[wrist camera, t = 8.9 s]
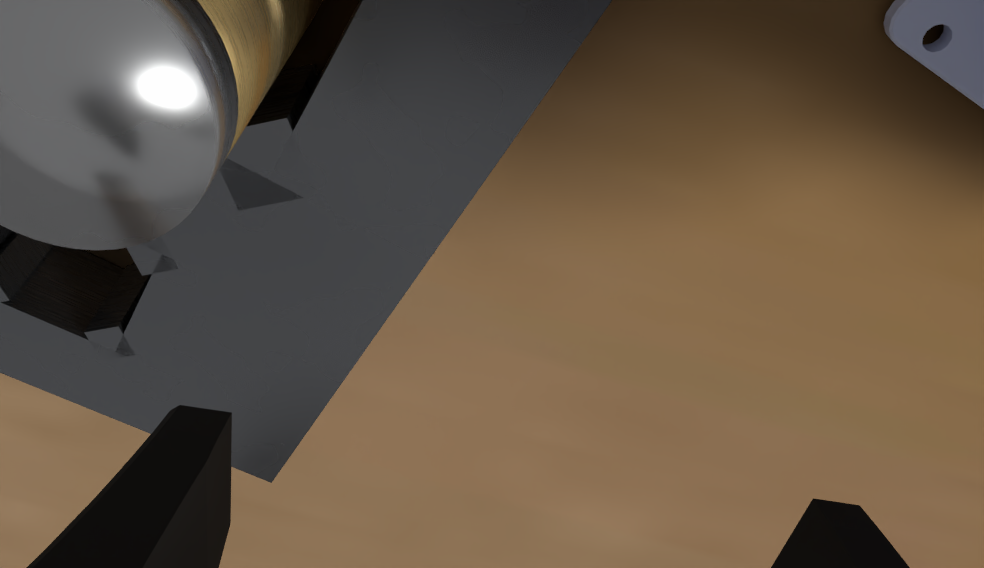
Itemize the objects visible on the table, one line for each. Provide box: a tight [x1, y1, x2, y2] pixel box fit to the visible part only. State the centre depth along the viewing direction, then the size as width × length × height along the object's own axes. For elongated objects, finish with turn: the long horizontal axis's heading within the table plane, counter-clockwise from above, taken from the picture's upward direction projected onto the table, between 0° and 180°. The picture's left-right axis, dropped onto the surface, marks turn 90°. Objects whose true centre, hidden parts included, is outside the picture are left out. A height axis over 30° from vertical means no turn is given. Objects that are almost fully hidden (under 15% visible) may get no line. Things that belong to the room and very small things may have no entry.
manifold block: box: [0, 0, 612, 483], centre depth 17 cm, size 12×14×2 cm
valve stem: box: [0, 0, 322, 250], centre depth 13 cm, size 4×4×7 cm
